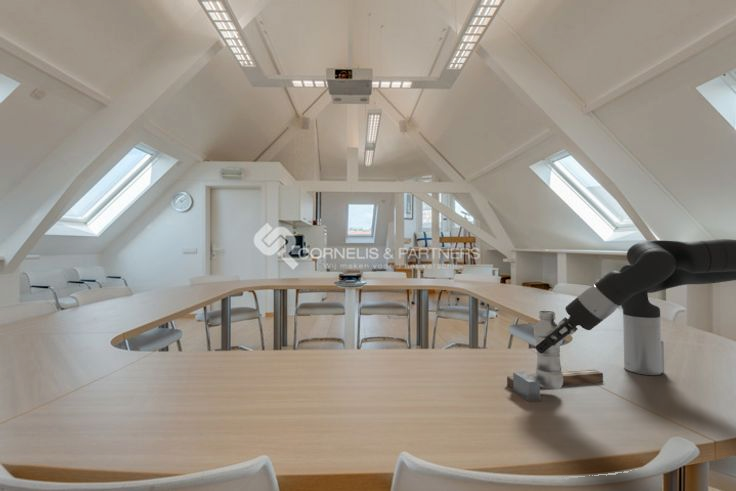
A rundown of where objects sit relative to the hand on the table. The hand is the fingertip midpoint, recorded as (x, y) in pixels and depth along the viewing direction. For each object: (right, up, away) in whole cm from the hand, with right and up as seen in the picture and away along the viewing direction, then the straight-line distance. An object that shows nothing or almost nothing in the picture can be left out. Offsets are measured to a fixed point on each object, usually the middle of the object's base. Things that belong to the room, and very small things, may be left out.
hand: (541, 347), depth 95 cm
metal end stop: (-5, -12, -2) cm, 13 cm away
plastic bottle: (+2, -10, -1) cm, 11 cm away
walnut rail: (+7, -12, +6) cm, 15 cm away
